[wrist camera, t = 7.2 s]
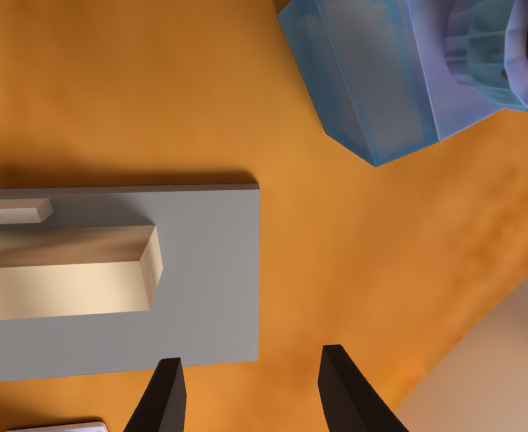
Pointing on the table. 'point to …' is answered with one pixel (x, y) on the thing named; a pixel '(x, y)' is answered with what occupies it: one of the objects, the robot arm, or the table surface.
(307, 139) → the table surface
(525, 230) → the table surface
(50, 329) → the board
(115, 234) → the slat
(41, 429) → the robot arm
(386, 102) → the perfume bottle
